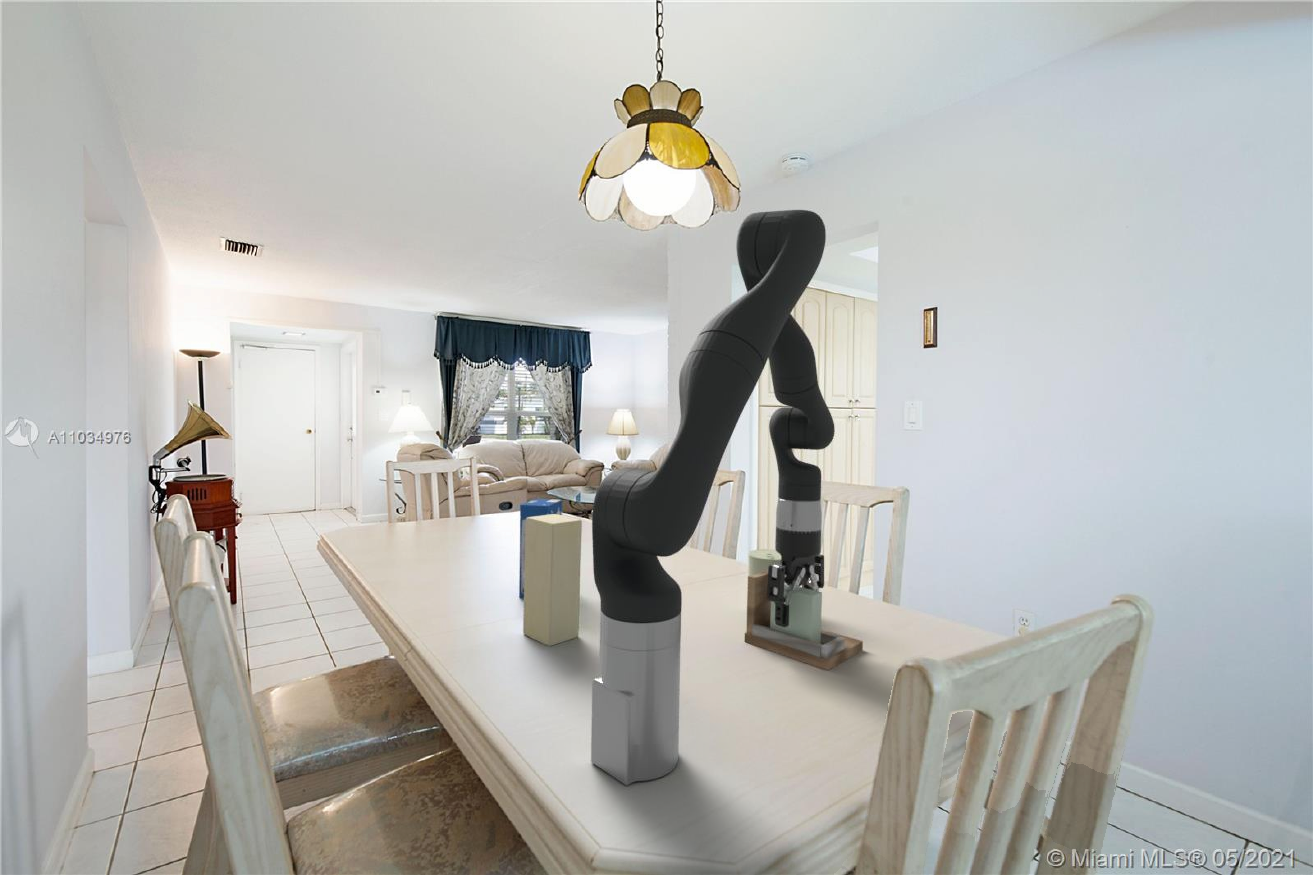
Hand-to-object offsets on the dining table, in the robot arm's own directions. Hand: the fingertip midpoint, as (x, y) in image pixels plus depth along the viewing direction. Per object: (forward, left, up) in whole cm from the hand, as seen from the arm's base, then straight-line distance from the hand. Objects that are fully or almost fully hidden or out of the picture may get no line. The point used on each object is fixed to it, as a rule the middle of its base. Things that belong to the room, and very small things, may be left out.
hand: (795, 619), depth 101 cm
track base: (+3, 0, -5) cm, 6 cm away
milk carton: (-13, +56, -5) cm, 58 cm away
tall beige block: (-26, +33, -5) cm, 43 cm away
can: (+15, +15, -5) cm, 22 cm away
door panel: (0, 0, -4) cm, 4 cm away
